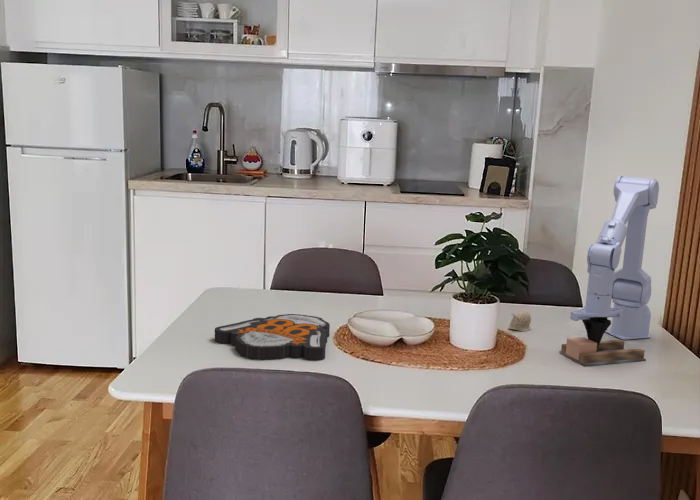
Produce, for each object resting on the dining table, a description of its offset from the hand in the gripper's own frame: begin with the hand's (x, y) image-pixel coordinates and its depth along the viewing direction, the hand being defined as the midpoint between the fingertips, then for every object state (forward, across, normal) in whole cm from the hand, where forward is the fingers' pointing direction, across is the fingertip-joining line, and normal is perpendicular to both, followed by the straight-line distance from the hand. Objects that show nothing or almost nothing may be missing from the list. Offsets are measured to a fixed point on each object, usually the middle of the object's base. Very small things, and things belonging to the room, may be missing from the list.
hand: (593, 346), depth 174 cm
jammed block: (+3, +4, 0) cm, 5 cm away
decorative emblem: (+3, +70, -31) cm, 76 cm away
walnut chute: (+3, -3, 0) cm, 4 cm away
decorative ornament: (+3, +4, -25) cm, 26 cm away
